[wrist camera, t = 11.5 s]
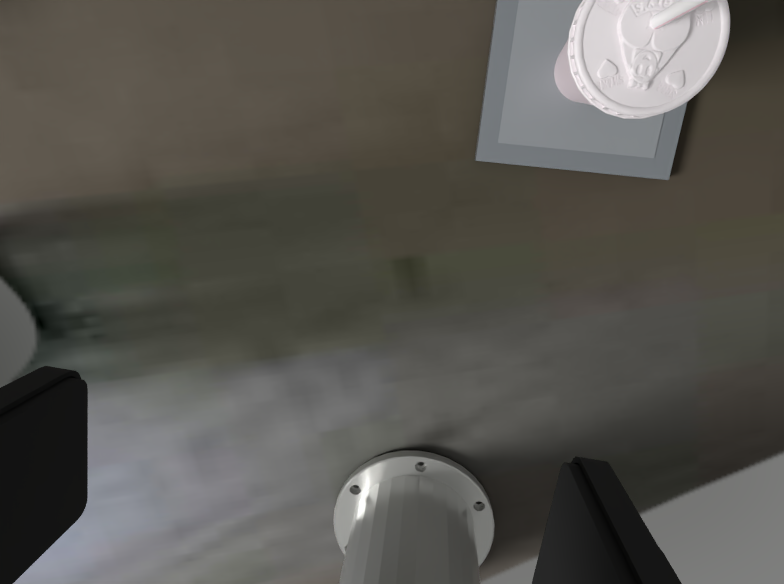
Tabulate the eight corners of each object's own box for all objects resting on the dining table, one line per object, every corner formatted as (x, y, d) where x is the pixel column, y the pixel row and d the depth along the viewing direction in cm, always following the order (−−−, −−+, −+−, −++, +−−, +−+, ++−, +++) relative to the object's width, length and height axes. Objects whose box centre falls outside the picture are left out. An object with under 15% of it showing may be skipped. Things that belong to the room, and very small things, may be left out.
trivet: (661, 179, 33) (669, 180, 32) (474, 160, 34) (475, 160, 33) (711, -33, 30) (721, -39, 29) (503, -50, 30) (505, -57, 29)
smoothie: (654, 18, 30) (836, -87, 16) (625, 133, 32) (768, 123, 18) (543, 3, 30) (633, -113, 17) (521, 118, 32) (585, 98, 18)
